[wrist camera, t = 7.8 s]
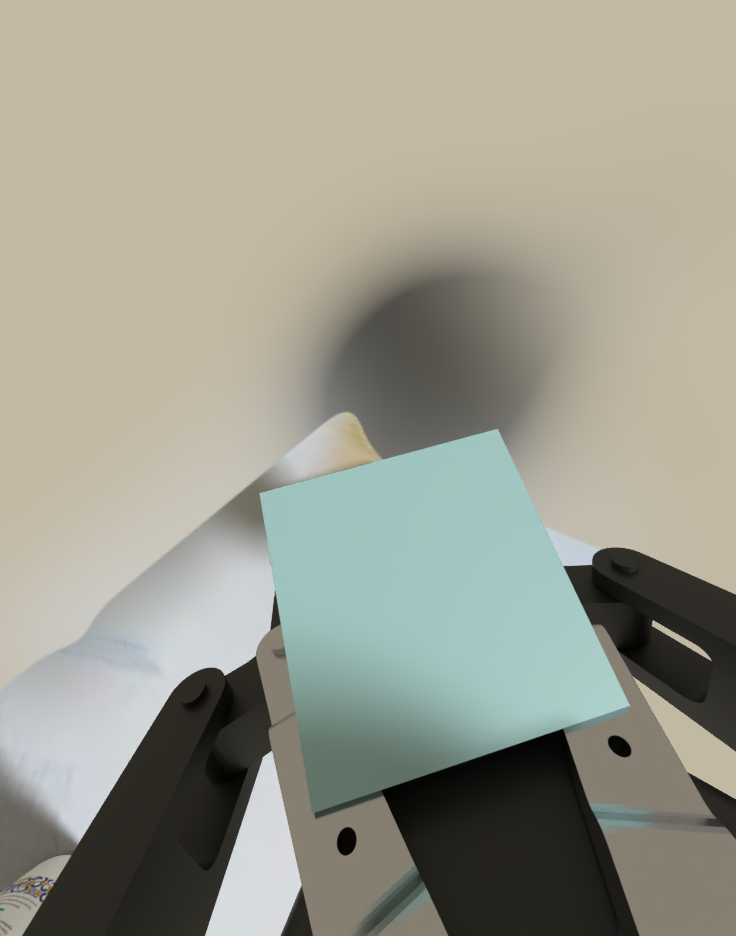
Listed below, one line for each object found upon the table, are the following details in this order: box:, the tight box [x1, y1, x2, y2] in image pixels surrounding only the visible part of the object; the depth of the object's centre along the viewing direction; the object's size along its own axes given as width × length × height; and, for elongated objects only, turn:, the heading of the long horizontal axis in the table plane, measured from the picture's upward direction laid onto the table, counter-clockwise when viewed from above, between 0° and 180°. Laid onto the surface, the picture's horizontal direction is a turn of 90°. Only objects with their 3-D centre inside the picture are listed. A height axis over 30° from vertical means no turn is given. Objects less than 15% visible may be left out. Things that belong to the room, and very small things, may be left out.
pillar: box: [259, 429, 630, 813], centre depth 11 cm, size 4×4×12 cm
